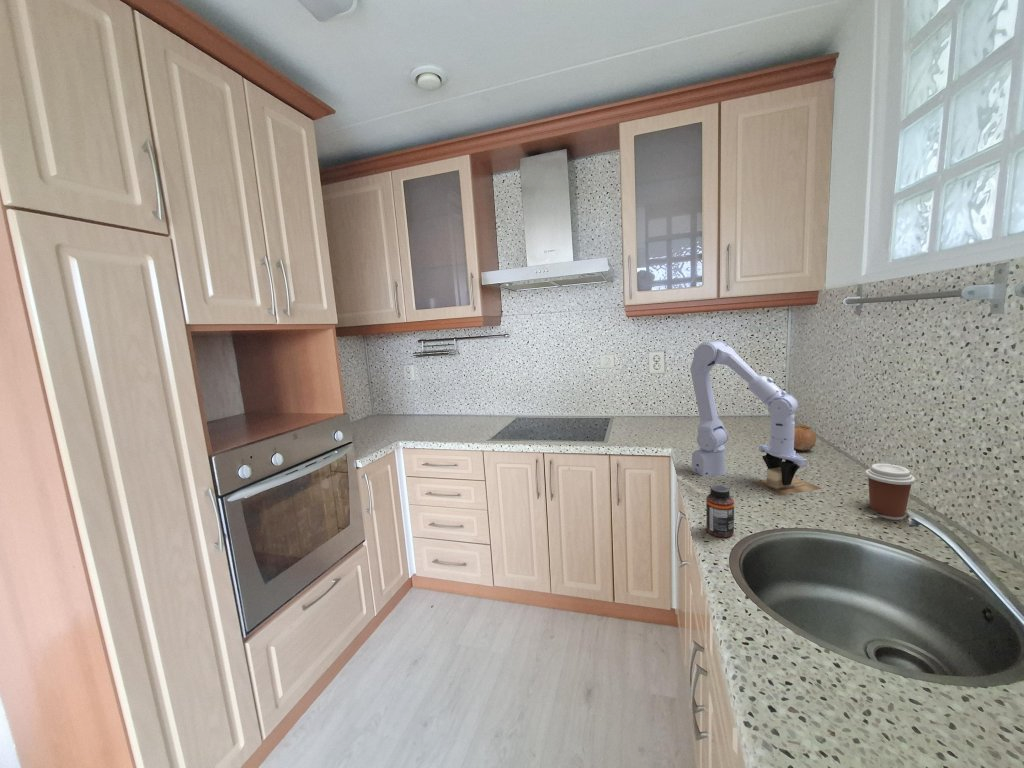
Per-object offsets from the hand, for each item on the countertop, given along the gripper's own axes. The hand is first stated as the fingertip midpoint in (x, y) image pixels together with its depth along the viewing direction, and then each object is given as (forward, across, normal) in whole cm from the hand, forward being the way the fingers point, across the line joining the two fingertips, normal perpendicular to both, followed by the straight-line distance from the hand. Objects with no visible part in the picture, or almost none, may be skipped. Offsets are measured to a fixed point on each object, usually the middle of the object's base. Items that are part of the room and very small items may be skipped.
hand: (780, 482), depth 115 cm
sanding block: (+1, 0, 0) cm, 1 cm away
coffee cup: (+3, -19, -12) cm, 23 cm away
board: (+3, 0, -2) cm, 4 cm away
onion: (+3, +27, -34) cm, 44 cm away
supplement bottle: (+3, -15, +32) cm, 35 cm away
